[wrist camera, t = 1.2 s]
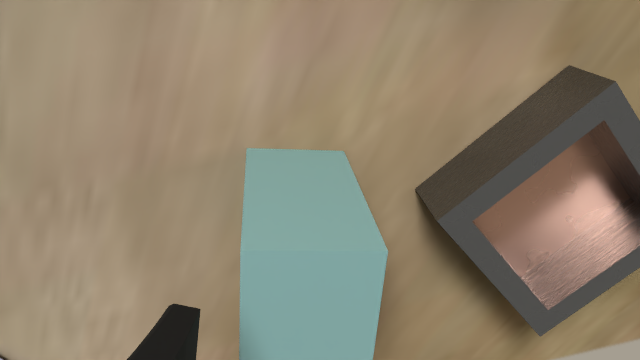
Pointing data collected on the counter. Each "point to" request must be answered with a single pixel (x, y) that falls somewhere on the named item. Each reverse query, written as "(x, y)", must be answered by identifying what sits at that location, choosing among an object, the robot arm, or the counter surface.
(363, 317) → the peg
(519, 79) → the counter surface
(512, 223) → the socket
